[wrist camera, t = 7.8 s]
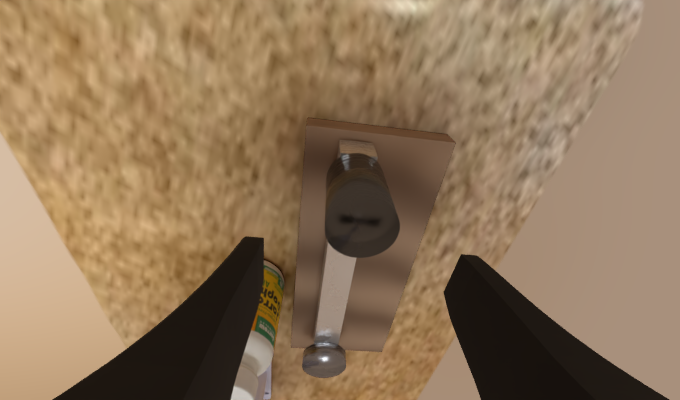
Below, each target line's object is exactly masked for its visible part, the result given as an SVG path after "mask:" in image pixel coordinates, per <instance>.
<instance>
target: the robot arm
mask: <svg viewBox="0 0 680 400" xmlns="http://www.w3.org/2000/svg"><path fill="white" fill-rule="evenodd" d="M263 282H264V238H258V237H244V238H243V239H242V240H241V241H240V243H239V244H238V245H237V246H236V248H235V249H234V250H233V251H232V252H231V254H230V255H229V256H228V257H227V258H226V259H225V260H224V262H223V263H222V264H221V265H220V266H219V267H218V268H217V269H216V270H215V271H214V272H213V274H212V275H211V276H210V277H209V278H208V279H207V280H206V281H205V282H204V283H203V284H202V285H201V286H200V287H199V288H198V289H197V290H196V291H195V292H194V293H193V294H192V295H191V296H189V297H188V298H187V299H186V300H185V301H184V302H183V303H182V304H181V305H180V306H179V307H178V308H177V309H175V310H174V311H173V312H172V313H171V314H170V315H169V316H167V317H166V318H165V319H164V320H163V321H161V322H160V323H159V324H158V325H157V326H155V327H154V328H153V329H152V330H151V331H149V332H148V333H147V334H145V335H144V336H143V337H142V338H140V339H139V340H138V341H136V342H135V343H134V344H132V345H131V346H130V347H129V348H127V349H126V350H125V351H123V352H122V353H121V354H119V355H118V356H116V357H115V358H114V359H112V360H111V361H110V362H108V363H107V364H105V365H104V366H102V367H101V368H99V369H98V370H96V371H95V372H93V373H92V374H90V375H89V376H88V377H86V378H84V379H83V380H81V381H80V382H79V383H77V384H76V385H74V386H73V387H71V388H70V389H68V390H67V391H65V392H64V393H62V394H61V395H59V396H57V397H56V398H54V399H53V400H231V396H232V392H233V388H234V384H235V380H236V376H237V373H238V369H239V366H240V363H241V360H242V357H243V354H244V351H245V348H246V344H247V341H248V338H249V335H250V332H251V329H252V326H253V323H254V319H255V316H256V313H257V310H258V306H259V302H260V297H261V292H262V287H263ZM444 295H445V300H446V304H447V308H448V312H449V316H450V319H451V322H452V325H453V327H454V330H455V332H456V335H457V338H458V340H459V343H460V345H461V348H462V350H463V353H464V355H465V358H466V360H467V363H468V365H469V368H470V370H471V373H472V375H473V378H474V381H475V383H476V386H477V389H478V392H479V395H480V398H481V400H669V399H667V398H666V397H664V396H663V395H661V394H659V393H658V392H656V391H654V390H653V389H651V388H649V387H648V386H646V385H644V384H643V383H641V382H640V381H638V380H637V379H635V378H634V377H632V376H630V375H629V374H627V373H626V372H624V371H623V370H621V369H619V368H618V367H617V366H615V365H614V364H612V363H611V362H609V361H607V360H606V359H605V358H603V357H602V356H600V355H599V354H598V353H596V352H595V351H593V350H592V349H591V348H589V347H588V346H586V345H585V344H584V343H582V342H581V341H579V340H578V339H577V338H575V337H574V336H572V335H571V334H570V333H569V332H567V331H566V330H565V329H563V328H562V327H561V326H560V325H558V324H557V323H556V322H555V321H553V320H552V319H551V318H549V317H548V316H547V315H546V314H545V313H543V312H542V311H541V310H540V309H538V308H537V307H536V306H535V305H534V304H533V303H531V302H530V301H529V300H528V299H527V298H526V297H524V296H523V295H522V294H521V293H520V292H519V291H518V290H516V289H515V288H514V287H513V286H512V285H510V283H508V282H507V281H506V280H505V279H504V278H503V277H502V276H500V275H499V274H498V273H497V272H496V271H495V270H494V269H493V268H491V267H490V266H489V265H488V264H487V263H486V262H484V261H483V260H482V259H481V258H479V257H478V256H475V255H463V254H461V256H460V258H459V260H458V262H457V265H456V267H455V269H454V271H453V273H452V275H451V278H450V280H449V282H448V284H447V286H446V288H445V291H444ZM271 378H272V361H271V364H270V365H269V367H268V368H267V369H266V371H265V372H264V373H262V374H261V375H259V376H258V383H259V384H258V388H257V392H256V397H255V400H263V399H270V398H271Z"/></svg>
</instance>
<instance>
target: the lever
mask: <svg viewBox="0 0 680 400" xmlns="http://www.w3.org/2000/svg"><path fill="white" fill-rule="evenodd" d="M377 159H378V156H377V153H376V150H375V147H374V144H373V143H367V142H358V141H349V140H339V147H338V155H337V160H335V161H334V162H333V163H332V165H331V166H330V167H329V169H328V172H327V176H326V201H325V236H326V245H325V253H324V260H323V268H322V275H321V283H320V290H319V298H318V305H317V313H316V320H315V328H314V336H313V344H312V345H310V346H308V347H307V348H306V349H305V350H304V353H303V364H302V367H303V370H304V371H305V372H306V373H307V374H309V375H311V376H314V377H319V378H328V377H333V376H336V375H339V374H340V373H342V372H343V371H344V370H345V368H346V355H345V350H344V349H343V348H342V347H341V346H340V345H338V343H339V339H340V334H341V329H342V324H343V320H344V315H345V310H346V305H347V301H348V296H349V291H350V287H351V282H352V277H353V272H354V268H355V263H356V258H366V257H371V256H375V255H378V254H380V253H382V252H384V251H385V250H387V249H388V248H389V247H390V246H391V245H392V244H393V243H394V242H395V241H396V239H397V237H398V234H399V231H400V221H399V218H398V215H397V212H396V209H395V206H394V203H393V200H392V197H391V194H390V191H389V188H388V185H387V182H386V179H385V176H384V173H383V170H382V168H381V166H380V164H379V163H378V162H377Z"/></svg>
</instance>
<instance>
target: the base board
mask: <svg viewBox="0 0 680 400" xmlns="http://www.w3.org/2000/svg"><path fill="white" fill-rule="evenodd" d="M339 140H349V141H358V142H367V143H373V144H374V147H375V150H376V153H377V156H378V159H377V162H378V163H379V164H380V166H381V168H382V170H383V173H384V176H385V179H386V182H387V185H388V188H389V191H390V194H391V197H392V200H393V203H394V206H395V209H396V212H397V215H398V218H399V221H400V231H399V234H398V237H397V239H396V241H395V242H394V243H393V244H392V245H391V246H390V247H389V248H388V249H387V250H385V251H384V252H382V253H380V254H378V255H375V256H371V257H366V258H356V263H355V268H354V272H353V277H352V282H351V287H350V291H349V296H348V301H347V305H346V310H345V315H344V320H343V324H342V329H341V334H340V339H339V343H338V345H340V346H341V347H342V348H343V349H344V350H353V351H373V352H382V350H383V348H384V345H385V342H386V339H387V336H388V333H389V331H390V328H391V325H392V322H393V319H394V316H395V314H396V311H397V308H398V305H399V302H400V299H401V297H402V294H403V291H404V288H405V285H406V282H407V280H408V277H409V274H410V271H411V268H412V265H413V263H414V260H415V257H416V254H417V251H418V248H419V246H420V243H421V240H422V237H423V234H424V231H425V229H426V226H427V223H428V220H429V217H430V214H431V212H432V209H433V206H434V203H435V200H436V197H437V195H438V192H439V189H440V186H441V183H442V180H443V178H444V175H445V172H446V169H447V166H448V163H449V161H450V158H451V155H452V152H453V149H454V146H455V144H456V143H455V142H454V141H453V140H452V139H451V138H450V137H449V136H448V135H447V134H440V133H431V132H423V131H414V130H406V129H398V128H389V127H381V126H373V125H364V124H356V123H348V122H339V121H331V120H323V119H314V118H308V121H307V125H306V138H305V153H304V167H303V181H302V195H301V210H300V224H299V238H298V252H297V267H296V281H295V295H294V309H293V324H292V338H291V348H307V347H308V346H310V345H312V344H313V336H314V328H315V320H316V313H317V305H318V298H319V290H320V283H321V275H322V268H323V260H324V253H325V245H326V236H325V201H326V176H327V172H328V169H329V167H330V166H331V165H332V163H333V162H334V161H335V160H337V155H338V147H339Z"/></svg>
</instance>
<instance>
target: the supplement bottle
mask: <svg viewBox="0 0 680 400" xmlns="http://www.w3.org/2000/svg"><path fill="white" fill-rule="evenodd" d="M283 292H284V278H283V275H282V273H281V272H280V270H279V269H278V268H277V267H276V266H275V265H273V264H272V263H270V262H268V261H265V260H264V282H263V287H262V292H261V297H260V302H259V306H258V310H257V313H256V316H255V319H254V323H253V326H252V329H251V332H250V335H249V338H248V341H247V344H246V348H245V351H244V354H243V357H242V360H241V363H240V366H239V369H238V373H237V376H236V380H235V384H234V388H233V392H232V396H231V400H255V397H256V392H257V388H258V384H259V383H258V376H259V375H261V374H262V373H264V372H265V371H266V369H267V368H268V367H269V365H270V364H271V361H272V358H273V354H274V347H275V341H276V335H277V329H278V323H279V316H280V310H281V304H282V297H283Z"/></svg>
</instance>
